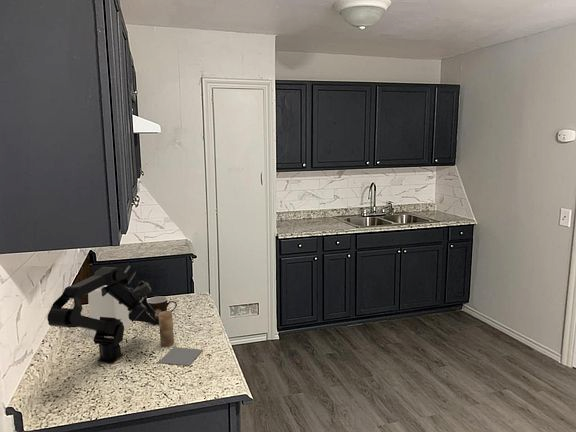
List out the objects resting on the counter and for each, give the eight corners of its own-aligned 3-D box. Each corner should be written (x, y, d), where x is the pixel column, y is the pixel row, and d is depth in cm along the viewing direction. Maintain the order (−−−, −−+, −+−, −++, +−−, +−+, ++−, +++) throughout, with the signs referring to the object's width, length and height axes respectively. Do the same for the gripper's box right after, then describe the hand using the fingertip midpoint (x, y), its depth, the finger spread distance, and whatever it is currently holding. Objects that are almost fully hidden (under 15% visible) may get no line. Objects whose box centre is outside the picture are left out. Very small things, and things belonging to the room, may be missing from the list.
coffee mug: (144, 324, 193) (142, 302, 191) (155, 317, 201) (153, 295, 200) (169, 326, 190) (167, 304, 189) (178, 319, 198) (177, 297, 197)
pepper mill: (158, 346, 172) (155, 315, 170) (164, 340, 177) (162, 310, 175) (170, 347, 171) (168, 316, 169) (176, 341, 176) (174, 311, 174)
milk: (130, 325, 193) (125, 266, 189) (118, 336, 182) (112, 274, 178) (103, 324, 194) (98, 266, 190) (89, 336, 183) (83, 274, 179)
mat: (157, 362, 159) (157, 362, 159) (173, 347, 171) (173, 347, 171) (189, 366, 156) (189, 365, 156) (203, 350, 168) (203, 349, 168)
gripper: (135, 284, 159) (170, 310, 163) (137, 270, 176) (168, 294, 181) (113, 308, 158) (149, 333, 162) (118, 292, 175) (149, 315, 180)
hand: (154, 318), depth 172 cm, fingers open, 9 cm apart
